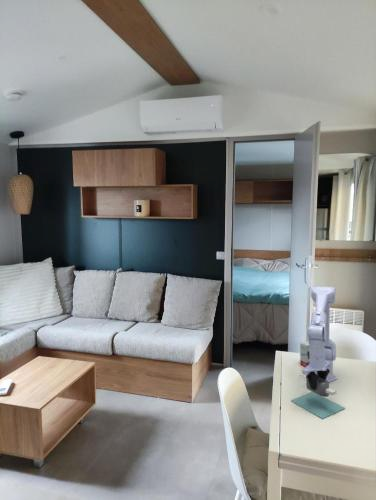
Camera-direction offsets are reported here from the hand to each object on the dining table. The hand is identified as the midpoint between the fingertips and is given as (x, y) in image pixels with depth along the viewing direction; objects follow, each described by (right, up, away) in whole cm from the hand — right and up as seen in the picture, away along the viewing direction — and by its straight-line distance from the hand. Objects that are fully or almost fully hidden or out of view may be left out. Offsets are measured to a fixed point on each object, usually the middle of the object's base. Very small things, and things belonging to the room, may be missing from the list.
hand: (317, 387), depth 146 cm
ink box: (+10, -3, +38) cm, 40 cm away
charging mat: (0, -7, +1) cm, 7 cm away
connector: (+1, -2, -1) cm, 2 cm away
